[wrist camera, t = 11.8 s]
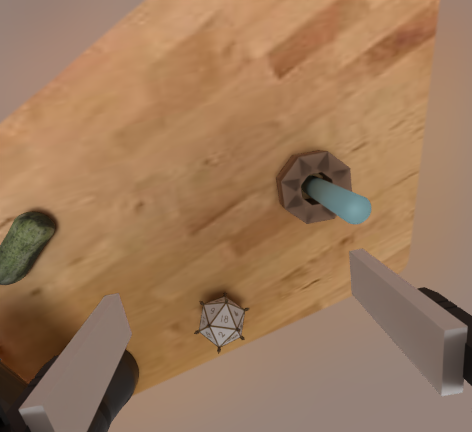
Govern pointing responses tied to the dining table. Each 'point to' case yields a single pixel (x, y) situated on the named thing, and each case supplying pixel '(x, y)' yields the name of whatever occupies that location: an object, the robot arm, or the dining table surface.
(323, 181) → the teal rounded stick
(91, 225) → the dining table surface
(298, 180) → the bead
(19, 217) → the vegetable
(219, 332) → the game die
